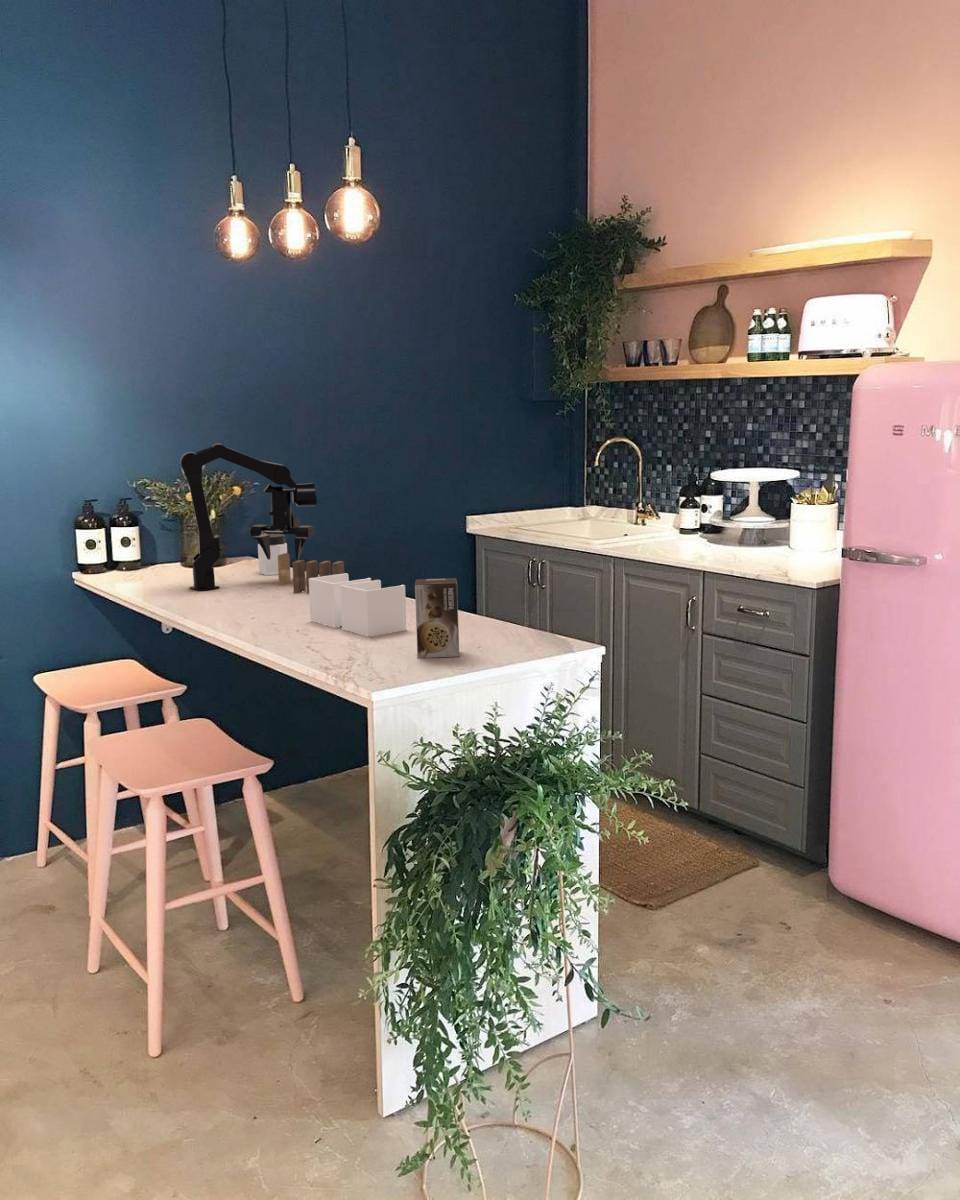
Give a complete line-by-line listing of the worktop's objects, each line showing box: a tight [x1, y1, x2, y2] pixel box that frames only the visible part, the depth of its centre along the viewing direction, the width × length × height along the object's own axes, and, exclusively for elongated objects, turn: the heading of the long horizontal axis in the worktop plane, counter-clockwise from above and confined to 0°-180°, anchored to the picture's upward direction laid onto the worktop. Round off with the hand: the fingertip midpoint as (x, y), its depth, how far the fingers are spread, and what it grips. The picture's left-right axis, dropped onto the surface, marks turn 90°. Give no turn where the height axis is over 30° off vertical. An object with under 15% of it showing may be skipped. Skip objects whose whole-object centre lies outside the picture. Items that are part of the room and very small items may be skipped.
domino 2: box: [291, 559, 307, 594], centre depth 318 cm, size 2×5×9 cm, turn 165°
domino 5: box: [331, 560, 345, 575], centre depth 315 cm, size 2×5×9 cm, turn 165°
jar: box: [257, 534, 288, 576], centre depth 352 cm, size 9×8×12 cm
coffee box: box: [414, 577, 460, 659], centre depth 239 cm, size 9×6×16 cm
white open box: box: [308, 572, 407, 637], centre depth 271 cm, size 25×11×11 cm, turn 40°
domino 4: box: [318, 560, 332, 577], centre depth 316 cm, size 2×5×9 cm, turn 165°
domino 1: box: [278, 552, 292, 586], centre depth 332 cm, size 2×5×9 cm, turn 165°
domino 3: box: [305, 559, 319, 594], centre depth 317 cm, size 2×5×9 cm, turn 165°
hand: (283, 559), depth 331 cm, fingers open, 9 cm apart
